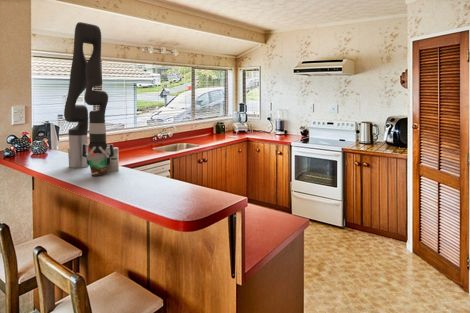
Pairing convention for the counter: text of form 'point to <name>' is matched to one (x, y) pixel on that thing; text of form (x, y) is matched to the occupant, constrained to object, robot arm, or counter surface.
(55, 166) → the counter surface
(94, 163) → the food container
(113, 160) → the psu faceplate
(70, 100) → the robot arm
